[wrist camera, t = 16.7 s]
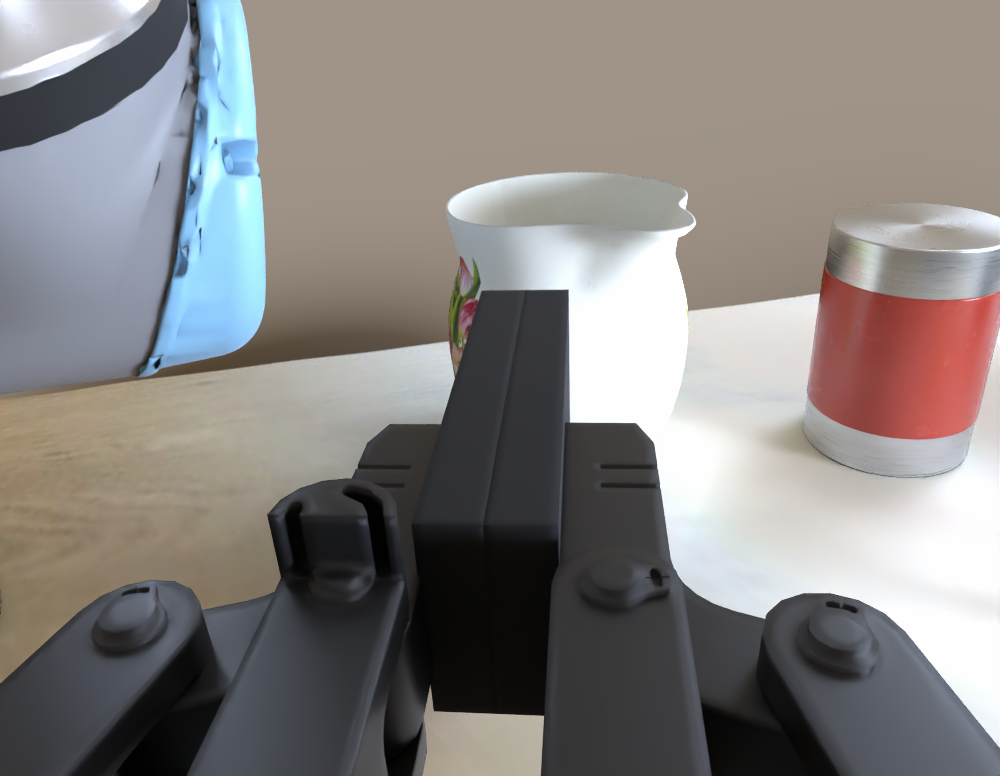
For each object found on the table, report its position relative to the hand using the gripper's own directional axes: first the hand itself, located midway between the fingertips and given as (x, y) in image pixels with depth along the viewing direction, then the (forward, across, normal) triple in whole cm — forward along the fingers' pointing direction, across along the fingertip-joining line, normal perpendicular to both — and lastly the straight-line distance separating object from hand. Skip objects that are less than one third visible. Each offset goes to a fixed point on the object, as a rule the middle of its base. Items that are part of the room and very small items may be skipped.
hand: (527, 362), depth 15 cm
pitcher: (+23, 0, -16) cm, 28 cm away
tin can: (+24, +16, -16) cm, 33 cm away
